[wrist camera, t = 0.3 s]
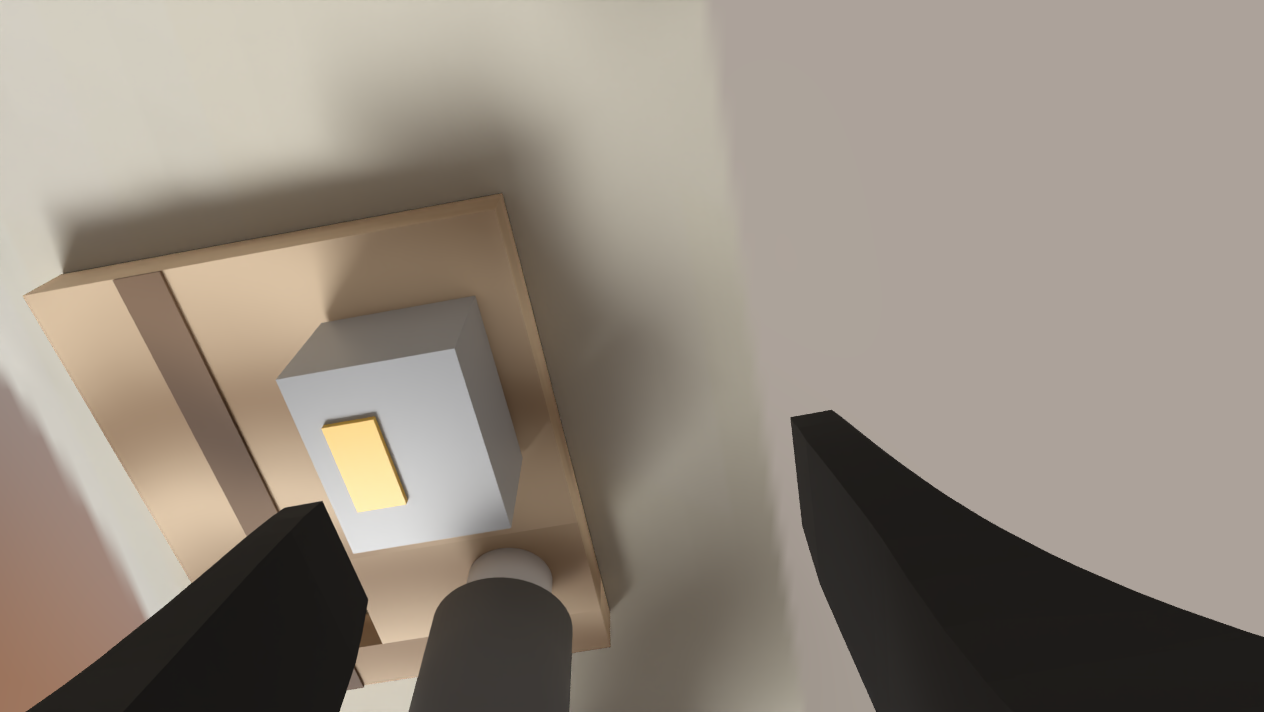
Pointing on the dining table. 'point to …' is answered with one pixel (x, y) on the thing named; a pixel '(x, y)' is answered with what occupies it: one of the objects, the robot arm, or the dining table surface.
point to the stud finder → (407, 424)
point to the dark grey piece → (498, 642)
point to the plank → (262, 424)
